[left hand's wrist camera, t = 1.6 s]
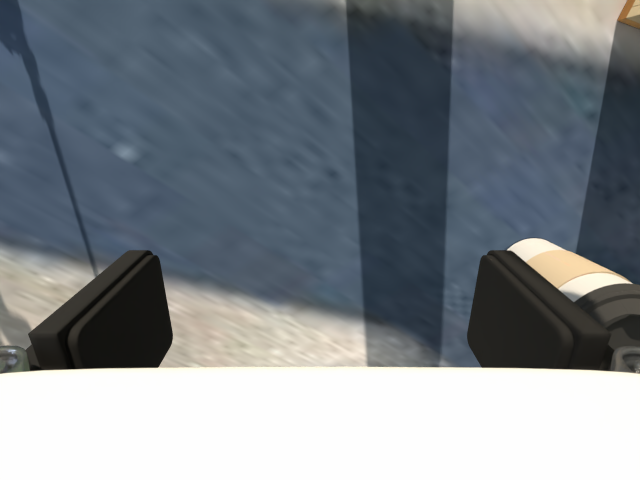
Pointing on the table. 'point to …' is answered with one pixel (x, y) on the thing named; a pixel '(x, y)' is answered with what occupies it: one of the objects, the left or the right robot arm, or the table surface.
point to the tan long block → (631, 13)
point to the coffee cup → (588, 288)
